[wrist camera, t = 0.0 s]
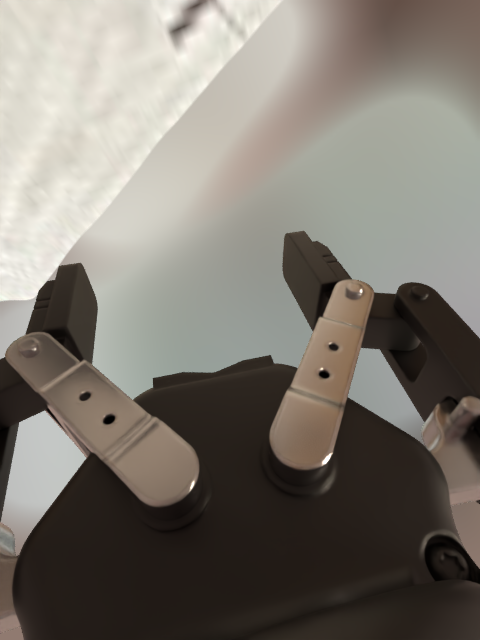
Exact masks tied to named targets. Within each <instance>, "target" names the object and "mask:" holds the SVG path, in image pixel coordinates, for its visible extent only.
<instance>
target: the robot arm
mask: <svg viewBox="0 0 480 640" xmlns="http://www.w3.org/2000/svg"><path fill="white" fill-rule="evenodd" d="M283 275H284V278H285V281H286V282H287V284H288V286H289V288H290V290H291V291H292V294H293V295H294V297H295V299H296V301H297V303H298V305H299V306H300V308H301V310H302V312H303V314H304V316H305V318H306V319H307V321H308V323H309V325H310V327H311V329H312V331H313V333H312V336H311V338H310V340H309V343H308V345H307V348H306V350H305V353H304V355H303V357H302V360H301V362H300V365H299V367H298V368H296V367H292V366H289V365H284V364H274V363H273V360H272V357H271V355H269V356H264V357H259V358H253V359H249V360H243V361H241V362H238V363H236V364H234V365H231V366H229V367H227V368H224V369H222V370H220V371H217V372H214V373H195V372H192V373H191V372H189V373H188V372H182V373H177V374H172V375H167V376H162V377H157V378H153V388H151V389H149V390H147V391H145V392H143V393H142V394H140V395H139V396H137V397H136V398H135V399H134V400H132V399H131V398H130V397H129V396H127V395H126V394H125V393H124V392H123V391H122V390H120V389H119V388H118V387H117V386H116V385H115V384H114V383H112V382H111V381H110V380H109V379H108V378H107V377H105V376H104V375H103V374H102V373H101V372H100V371H99V370H97V369H96V368H95V367H94V366H93V365H92V359H93V349H94V340H95V330H96V321H97V310H98V307H97V300H96V297H95V294H94V291H93V289H92V286H91V284H90V281H89V279H88V276H87V274H86V272H85V269H84V267H83V265H82V264H81V263H76V264H69V265H62V266H59V268H58V272H57V275H56V279H55V280H52V281H47V282H46V283H45V284H44V286H43V287H42V288H41V289H40V290H39V292H38V295H37V299H36V302H35V305H34V310H33V312H32V315H31V319H30V322H29V325H28V328H27V331H26V335H24V336H22V337H20V338H18V339H17V340H15V341H14V342H13V343H12V344H11V345H10V346H9V347H8V349H7V351H6V354H5V357H4V358H2V359H0V633H3V632H6V631H9V630H12V629H15V628H18V627H21V629H22V633H23V637H24V640H480V569H479V568H478V566H476V564H475V563H474V561H473V560H472V559H471V558H470V556H469V554H468V553H467V551H466V550H465V548H464V546H463V544H462V542H461V539H460V537H459V534H458V532H457V529H456V526H455V523H454V519H453V516H452V510H451V506H452V505H457V504H461V503H467V502H471V501H477V502H478V503H479V504H480V338H479V337H478V336H477V335H476V334H475V333H474V332H473V331H472V330H471V328H470V327H469V326H468V325H467V324H466V323H465V322H464V321H463V320H462V319H461V318H460V317H459V315H458V314H457V313H456V312H455V311H454V310H453V309H452V308H451V307H450V306H449V304H448V303H446V301H445V300H444V299H443V298H442V297H441V296H440V295H439V294H438V293H437V292H436V291H435V290H434V289H433V288H431V287H429V286H427V285H424V284H421V283H413V282H411V283H405V284H402V285H401V286H400V287H399V288H398V290H397V293H396V294H385V293H375V292H374V291H373V289H372V287H370V285H368V284H367V283H365V282H362V281H359V280H353V279H352V278H351V277H350V276H349V275H348V273H347V272H346V271H345V269H344V268H343V267H342V265H341V264H340V263H339V262H337V259H336V258H335V257H334V256H333V254H332V253H331V251H330V250H329V249H328V247H326V246H325V245H323V244H321V243H320V242H318V241H315V242H312V241H311V239H310V238H309V237H308V235H307V234H306V232H305V231H300V232H293V233H287V234H285V238H284V251H283ZM420 341H421V342H420ZM423 345H424V346H423ZM360 348H371V349H380V350H381V352H382V354H383V355H384V357H385V359H386V360H387V362H388V363H389V365H390V367H391V368H392V370H393V371H394V373H395V375H396V377H397V378H398V380H399V381H400V383H401V385H402V386H403V387H404V389H405V391H406V393H407V395H408V396H409V398H410V399H411V401H412V403H413V404H414V406H415V408H416V409H417V411H418V412H419V414H420V416H421V417H422V419H423V421H424V422H425V423H424V425H423V427H422V430H421V435H422V439H423V442H424V444H425V446H424V445H423V444H421V443H420V442H419V441H418V440H416V439H415V438H414V437H412V436H411V435H409V434H407V433H406V432H404V431H402V430H401V429H399V428H397V427H396V426H394V425H393V424H391V423H389V422H388V421H386V420H384V419H383V418H381V417H379V416H378V415H376V414H374V413H373V412H371V411H369V410H368V409H366V408H364V407H363V406H361V405H360V404H358V403H356V402H355V401H353V400H351V399H350V398H348V393H349V389H350V385H351V382H352V378H353V374H354V370H355V367H356V363H357V359H358V356H359V352H360ZM44 410H45V411H46V412H47V413H48V414H49V415H50V417H51V418H52V419H53V420H54V421H55V422H56V423H57V424H58V426H59V427H60V428H61V429H62V430H63V431H64V432H65V433H66V434H67V435H68V436H69V438H70V439H71V440H72V441H73V442H74V443H75V444H76V446H77V447H78V448H79V449H80V450H81V452H82V453H83V454H84V455H85V457H86V460H85V461H84V462H83V464H82V465H81V466H80V468H79V469H78V470H77V472H76V473H75V474H74V476H73V477H72V478H71V480H70V481H69V482H68V484H67V485H66V486H65V488H64V489H63V490H62V492H61V493H60V494H59V496H58V497H57V498H56V500H55V501H54V502H53V503H52V505H51V506H50V507H49V509H48V510H47V511H46V513H45V514H44V515H43V517H42V518H41V520H40V521H39V522H38V523H37V525H36V526H35V527H34V529H33V530H32V532H31V533H30V535H29V536H28V538H27V540H26V542H25V543H24V545H23V547H22V549H21V552H20V555H18V556H16V554H15V538H14V534H13V532H12V531H11V529H10V528H9V527H7V526H6V525H4V524H2V523H1V517H2V511H3V506H4V500H5V495H6V490H7V485H8V479H9V474H10V469H11V463H12V458H13V453H14V447H15V441H16V436H17V431H18V426H19V422H21V421H23V420H25V419H27V418H29V417H31V416H34V415H36V414H38V413H40V412H42V411H44Z"/></svg>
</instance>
